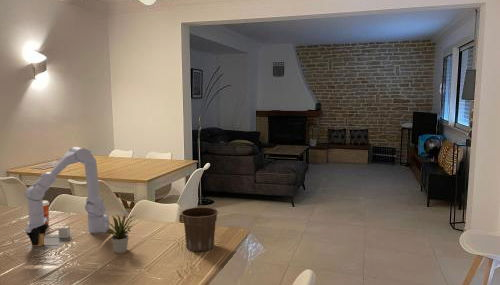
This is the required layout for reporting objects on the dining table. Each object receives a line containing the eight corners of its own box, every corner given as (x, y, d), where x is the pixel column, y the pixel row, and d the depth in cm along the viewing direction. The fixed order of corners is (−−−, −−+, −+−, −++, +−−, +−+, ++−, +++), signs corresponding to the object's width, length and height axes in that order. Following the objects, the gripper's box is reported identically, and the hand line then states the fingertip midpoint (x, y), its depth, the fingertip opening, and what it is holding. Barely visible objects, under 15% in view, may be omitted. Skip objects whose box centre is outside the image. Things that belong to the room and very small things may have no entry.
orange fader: (44, 243, 172) (43, 233, 171) (40, 246, 169) (40, 235, 168) (35, 243, 172) (34, 233, 171) (31, 246, 169) (31, 235, 168)
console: (74, 236, 184) (74, 234, 184) (56, 251, 167) (56, 248, 166) (45, 236, 184) (45, 234, 184) (24, 251, 166) (23, 248, 166)
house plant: (146, 246, 172) (145, 211, 170) (127, 258, 159) (126, 220, 157) (120, 242, 176) (119, 208, 175) (99, 254, 163) (97, 217, 162)
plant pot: (195, 238, 183) (195, 205, 181) (225, 243, 176) (224, 209, 174) (174, 249, 168) (173, 214, 166) (205, 256, 161) (205, 219, 159)
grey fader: (70, 235, 182) (69, 225, 181) (67, 238, 179) (66, 227, 178) (61, 235, 182) (61, 225, 181) (58, 238, 179) (58, 227, 178)
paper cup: (43, 231, 192) (41, 204, 190) (30, 230, 193) (28, 203, 192) (54, 226, 199) (52, 200, 198) (41, 225, 201) (39, 199, 199)
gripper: (36, 208, 176) (37, 237, 177) (17, 218, 162) (19, 249, 163) (51, 208, 176) (53, 237, 177) (33, 218, 162) (35, 249, 163)
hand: (38, 243), depth 170 cm, fingers open, 4 cm apart
